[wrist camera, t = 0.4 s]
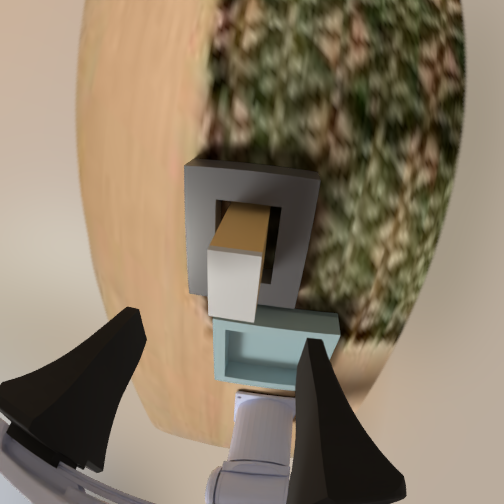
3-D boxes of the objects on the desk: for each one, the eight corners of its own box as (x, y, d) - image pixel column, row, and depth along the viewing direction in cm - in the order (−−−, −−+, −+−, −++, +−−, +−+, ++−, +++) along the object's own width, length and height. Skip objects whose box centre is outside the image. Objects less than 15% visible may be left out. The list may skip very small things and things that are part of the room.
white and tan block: (264, 260, 21) (253, 322, 16) (229, 255, 21) (208, 315, 16) (270, 204, 19) (261, 256, 13) (232, 200, 19) (207, 249, 13)
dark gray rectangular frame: (294, 293, 22) (294, 309, 21) (195, 279, 23) (189, 293, 21) (317, 172, 17) (320, 180, 15) (193, 158, 17) (184, 165, 16)
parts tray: (313, 372, 27) (313, 392, 25) (219, 360, 28) (214, 379, 26) (337, 313, 23) (340, 335, 21) (219, 298, 23) (212, 318, 21)
